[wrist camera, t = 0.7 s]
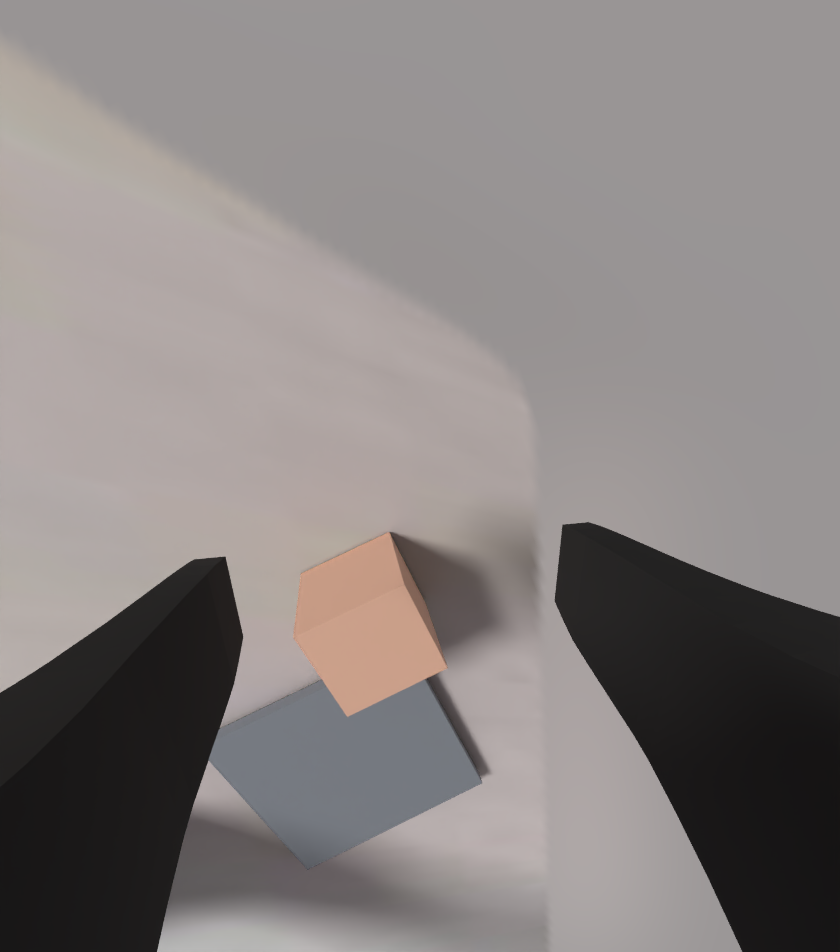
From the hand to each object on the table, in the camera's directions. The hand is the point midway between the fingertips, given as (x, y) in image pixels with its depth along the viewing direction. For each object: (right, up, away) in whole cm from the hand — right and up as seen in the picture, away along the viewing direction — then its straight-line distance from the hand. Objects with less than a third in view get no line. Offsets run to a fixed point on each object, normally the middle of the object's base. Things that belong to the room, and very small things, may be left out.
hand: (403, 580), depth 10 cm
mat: (-3, -13, +14) cm, 20 cm away
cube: (-2, -3, +11) cm, 12 cm away
